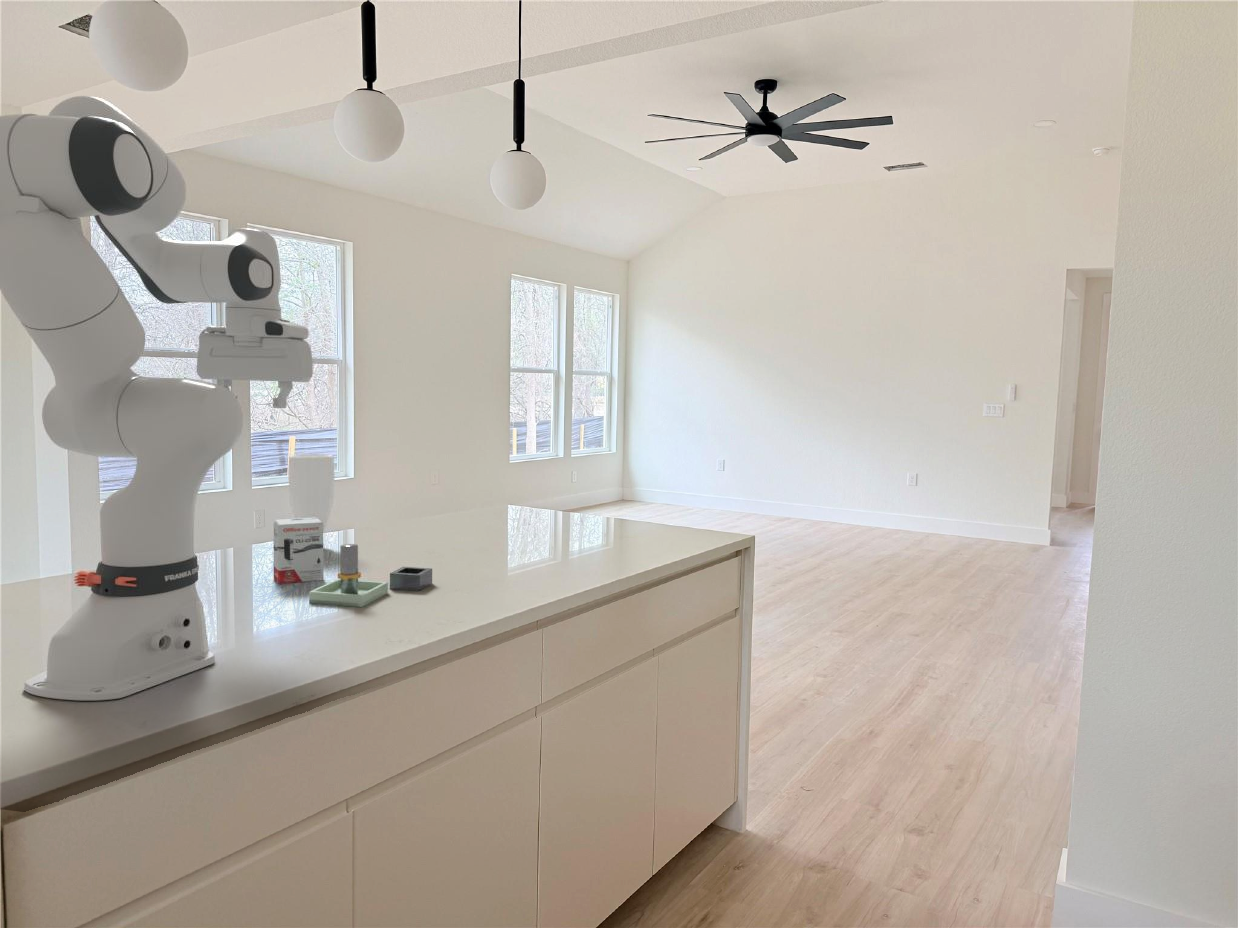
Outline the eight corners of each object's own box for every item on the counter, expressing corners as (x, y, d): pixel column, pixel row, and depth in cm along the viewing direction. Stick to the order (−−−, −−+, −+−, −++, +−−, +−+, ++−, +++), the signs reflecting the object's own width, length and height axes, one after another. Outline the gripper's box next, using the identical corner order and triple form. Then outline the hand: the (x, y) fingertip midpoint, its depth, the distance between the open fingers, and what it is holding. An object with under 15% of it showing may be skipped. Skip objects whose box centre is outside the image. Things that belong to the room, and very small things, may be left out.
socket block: (419, 590, 155) (419, 575, 154) (389, 588, 156) (389, 573, 155) (432, 583, 161) (432, 568, 160) (403, 581, 162) (403, 566, 161)
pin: (354, 598, 146) (354, 548, 145) (333, 596, 147) (333, 547, 146) (364, 592, 150) (364, 544, 149) (344, 591, 151) (344, 542, 150)
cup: (317, 553, 185) (316, 458, 183) (278, 549, 188) (277, 456, 186) (345, 545, 195) (344, 455, 193) (307, 541, 198) (306, 452, 196)
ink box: (278, 584, 157) (277, 523, 156) (273, 579, 161) (272, 519, 160) (324, 579, 161) (324, 520, 160) (318, 574, 165) (317, 516, 164)
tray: (362, 606, 143) (362, 595, 143) (309, 602, 145) (309, 591, 144) (387, 592, 153) (387, 582, 152) (337, 589, 154) (337, 578, 154)
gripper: (187, 324, 140) (189, 405, 142) (297, 326, 137) (298, 409, 138) (211, 327, 146) (213, 405, 148) (317, 329, 143) (317, 408, 144)
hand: (255, 407), depth 143 cm, fingers open, 8 cm apart
